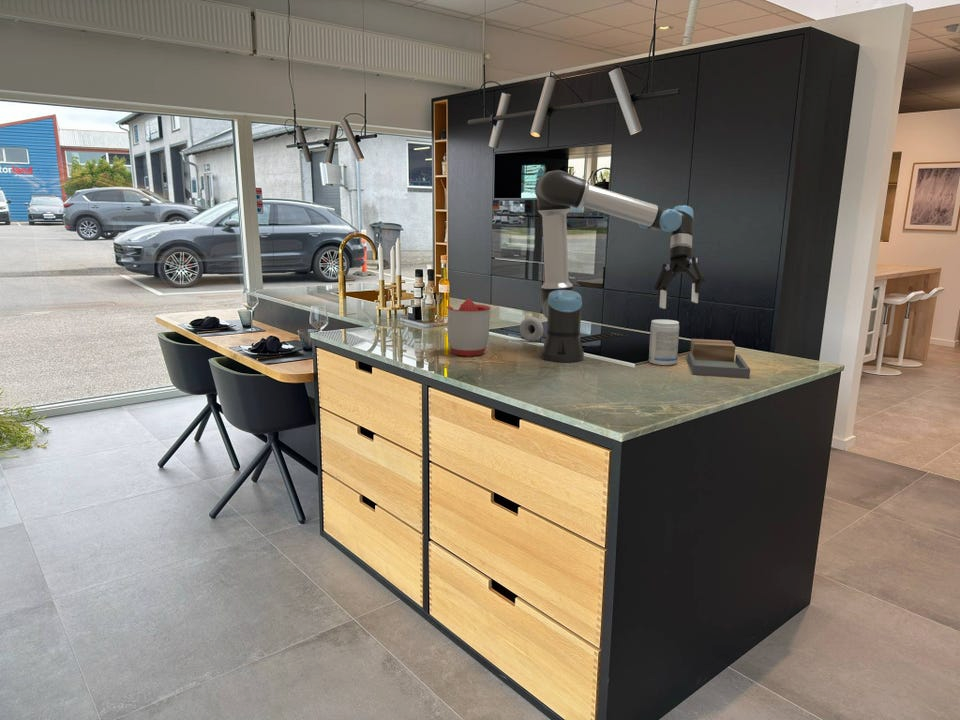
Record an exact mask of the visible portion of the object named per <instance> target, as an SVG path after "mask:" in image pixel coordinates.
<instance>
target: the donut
mask: <svg viewBox="0 0 960 720" xmlns="http://www.w3.org/2000/svg"><path fill="white" fill-rule="evenodd" d="M530 326H533V327H534V332H530V330H529V327H530ZM519 333H520V335H521V336H522V337H523V339H524V340H526V341H527V342H531V343H532V342H537V341H539V340H540V339H541V337H542V336H543V333H544V326H543V323H542V321H541V320H540V319H539V318H537V317H536V316H527V317H525V318H524V319H523V320H522V321H521V323H520V325H519Z"/></svg>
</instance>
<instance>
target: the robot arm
mask: <svg viewBox="0 0 960 720" xmlns="http://www.w3.org/2000/svg"><path fill="white" fill-rule="evenodd" d="M534 193H535V196H536V201H537V212H538V213H539V214H540V215H541V216H542V220H541V221H542V237H543V262H544V264H543V265H544V283H543V284H542V285H541V289H540V290H541V292H540V293H541V298H540V302H539V307H540V311H541V312H542V315H543V316H544V317H545V319H547V320H546V321H547V322H546V323H547V324H546V338H545V340H544V343H543V346H542V349H541V350H540V351H541V352H540V357H541V358H542V359H543V360H546V361H551V362H557V363H574V362H575V363H576V362H580V361H583V360H584V357H585V352H584V349H583V344H582V341H581V321H582V320H581V318H582V306H583V301H582V300H583V299H582V295H581V294H580V293H579V292H577V291H574V285H573V284H572V283H571V282H570V280H569V257H568V229H567V228H568V227H567V224H568V223H567V222H568V221H567V214H568V213H569V212H570V210H571V208H572V207H573V208H576V209H578V208H580V207H583V208H587V209H590V210H593V211H595V212H596V211H597V212H600V213H603V214H606V215H609V216H613V217H617V218H620V219H622V220H626V221H629V222H632V223H636V224H638V226H639V227H640V229H644V230H645V229H646V230H652V231H653V230H654V231H658V232H659V231H660V232H667V233H670V251H669V259H670V263H668V264H666V263H663V264H662V267H661V271H660V274H659V276H658V277H657V278H658V279H657V280H656V283H655V285H654V288H653V289H654V290H656V291H658V299H659V308H660V309H662V310H665V309H667V296H668V295H667V292H668V291H666V289H668V286H670V284H671V283H672V281H673V279H674V278H675V277H676V276H677V275H681V274H685V273H686V274H687V275H688V277H689V278H690V279H691V280H692V281H693V282H692V283H691V303H693V304H694V303H695V304H698V303H699V294H700V293H701V285H702V283H706V281H707V278H706V276H705V274H704V272H703V269H702V267H701V265H700V260H699V258H698V257H696V256H692V255H693V250H692V248H693V234H694V233H693V231H694V220H695V219H694V209H693V207H692V206H689V205H675V207H672V208H668V207H663V206H661V205H658V204H654V203H650V202H647V201H643V200H642V199H637V198H634V197H631V196H628V195H624V194H621V193H618V192H615V191H612V190H608V189H607V188H606V189H604V188H603V187H599V186H596V185H593V184H589V182H588V180H586V179H584V178H581V177H578V176H576V175H573V174H571V173H569V172H566V171H564V170H560V169H557V170H551V171H547V172H544V173H543V174H542V175H540V177H539V178H538V179H537V181H536V184H535V187H534ZM691 265H692V267H693V269H694V271H695V273H694V271H693V270H692V268H691V267H690V266H691Z"/></svg>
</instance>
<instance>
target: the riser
mask: <svg viewBox="0 0 960 720" xmlns="http://www.w3.org/2000/svg"><path fill="white" fill-rule="evenodd" d="M689 352H692V354H693V357H694V359H695V360H711V361H727V362H735V357H736V345H735V344H734V342H733V341H732V340H722V339H721V340H720V339H704V338H691V340H690V350H689Z"/></svg>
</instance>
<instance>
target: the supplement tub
mask: <svg viewBox="0 0 960 720" xmlns="http://www.w3.org/2000/svg"><path fill="white" fill-rule="evenodd" d="M649 333H650V335H649V352H648V361H649V362H650V363H651V364H653V365H659V366H673V365H676V364H677V363H678V351H679V335H680V322H679V321H678V320H673V319H652V320H651V324H650V332H649Z"/></svg>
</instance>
